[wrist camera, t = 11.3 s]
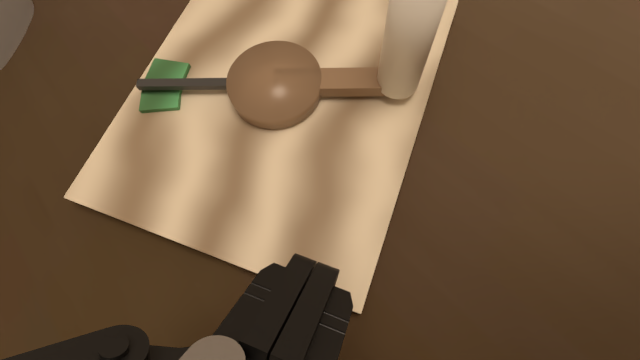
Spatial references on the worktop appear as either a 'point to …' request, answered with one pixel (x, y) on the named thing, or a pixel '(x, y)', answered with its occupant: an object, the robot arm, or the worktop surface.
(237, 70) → the brown and cream piece
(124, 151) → the striped cutting board
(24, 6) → the lumpy-topped squat cylinder
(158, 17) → the worktop surface
